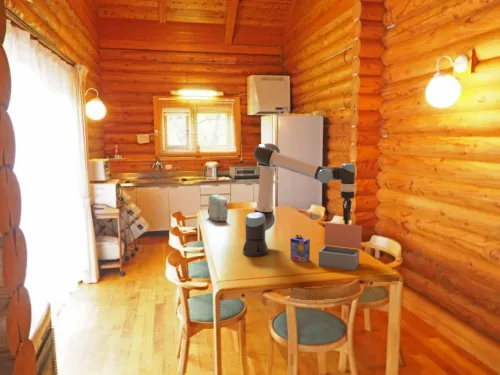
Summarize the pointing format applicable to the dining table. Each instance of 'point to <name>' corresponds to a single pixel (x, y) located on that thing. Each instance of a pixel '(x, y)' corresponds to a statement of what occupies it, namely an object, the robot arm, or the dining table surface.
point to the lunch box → (217, 208)
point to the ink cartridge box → (300, 249)
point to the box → (339, 258)
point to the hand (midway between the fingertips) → (346, 231)
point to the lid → (343, 235)
